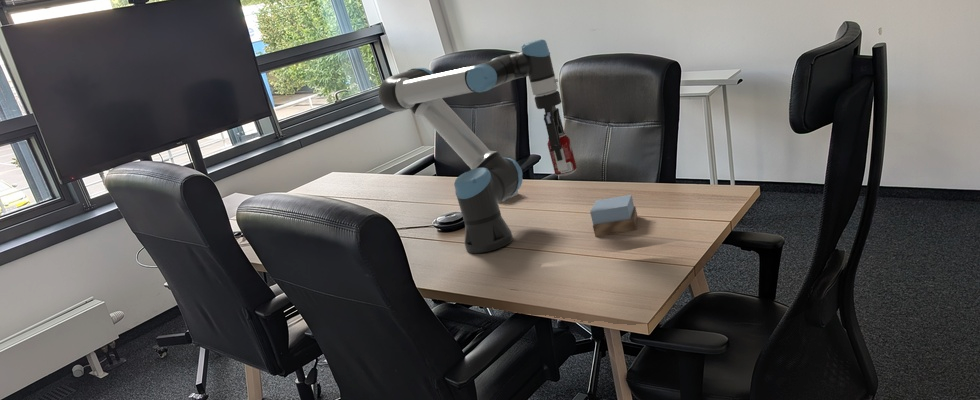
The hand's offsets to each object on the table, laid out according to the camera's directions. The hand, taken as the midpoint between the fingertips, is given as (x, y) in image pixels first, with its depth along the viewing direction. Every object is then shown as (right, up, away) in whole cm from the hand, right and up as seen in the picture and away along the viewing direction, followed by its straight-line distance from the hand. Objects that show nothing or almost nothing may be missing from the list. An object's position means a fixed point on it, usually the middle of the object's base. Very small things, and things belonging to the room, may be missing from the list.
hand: (564, 167), depth 225 cm
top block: (+14, -15, -2) cm, 21 cm away
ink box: (-17, -13, +55) cm, 58 cm away
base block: (+15, -18, -2) cm, 24 cm away
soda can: (+1, -2, +1) cm, 2 cm away
